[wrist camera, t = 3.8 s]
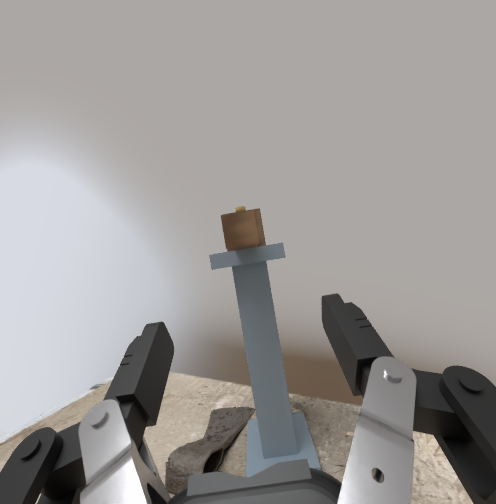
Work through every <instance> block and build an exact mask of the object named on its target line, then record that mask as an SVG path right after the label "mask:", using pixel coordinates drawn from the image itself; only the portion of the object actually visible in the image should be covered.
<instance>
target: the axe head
mask: <svg viewBox="0 0 496 504" xmlns="http://www.w3.org/2000/svg"><path fill="white" fill-rule="evenodd" d="M255 410H256V409H253V408H249V407H238V408H236V407H234V408H220V409H216V410H213V411H212V412H211V415H210V420H209V424H208V427H207V430H206V433H205V435H204V438H203V439H201V440H197V441H195V442H192V443H187V444H186V445H184V446H181V447H179V448H177V449H176V450H175V451H173V452H172V453H171V454H170V456H169V458H168V460H169V461H168V462H166V475H165V487H166V489H167V490H168V492H173V493H175V494H177V493H178V492H180V491H181V490H182V489H184V488H186V487H188V481H189V476H190V475H197V474H204V473H211V472H217V467H218V465H219V464H220V463H221V461H222V457H223V452H224V450H225V449H226V448H227V447H228V446H230V444H231V442H232V441H233V439H234V438H235V436H236V435H237V434H238V433H239V431H240V430H242V429H243V427H244V426H245V425H246V423H247V422H248V420H249V419H250V418H251V415H252V414H254V412H255Z"/></svg>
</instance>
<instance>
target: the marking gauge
mask: <svg viewBox="0 0 496 504" xmlns="http://www.w3.org/2000/svg"><path fill="white" fill-rule="evenodd" d="M235 209H236V212H235V213H229V214H224V215H222V216H221V219H222V226H223V232H224V238H225V244H226V249H227V250H228V252H230V251H236V250H242V249H248V248H254V247H260V246H266V244H265V237H264V231H263V225H262V219H261V213H260V209H254V210H248V211H246V210H245V207H237V208H235Z"/></svg>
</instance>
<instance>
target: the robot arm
mask: <svg viewBox="0 0 496 504" xmlns="http://www.w3.org/2000/svg"><path fill="white" fill-rule="evenodd" d="M322 322H323V327H324V330H325V332H326V335H327V337H328V339H329V341H330V343H331V346H332V348H333V350H334V352H335V355H336V357H337V359H338V361H339V364H340V366H341V368H342V370H343V373H344V375H345V377H346V379H347V382H348V384H349V386H350V389H351V391H352V393H353V395H354V396H358V395H362V396H363V398H364V400H363V404H362V408H361V412H360V414H359V417H358V420H357V424H356V429H355V433H354V437H353V441H352V445H351V449H350V453H349V457H348V462H347V466H346V470H345V474H344V478H343V482H342V483H341V482H340V481H338V480H337V479H335V478H334V477H333V476H331V475H329V474H327V473H325V472H323V471H321V470H318V469H314V468H310V467H309V464H308V459H300V460H293V461H286V462H279V463H276V464H274V465H272V466H271V467H269V468H267V469H265V470H263V471H261V472H259V473H257V474H255V475H253V476H251V477H242V476H237V475H232V474H228V473H223V472H211V473H204V474H197V475H190V476H189V481H188V487H186V488H184V489H182V490H181V491H180V492H178V493H177V494H176V495H175V496H173V497H172V498H171V497H170V495H169V493H168V491H167V490H166V488H165V486H164V484H163V482H162V480H161V478H160V476H159V473H158V471H157V468H156V466H155V463H154V461H153V458H152V456H151V453H150V450H149V448H148V445H147V443H146V440H145V438H144V436H143V435H144V431H145V428H146V427H148V426H154V425H156V422H157V418H158V414H159V410H160V406H161V402H162V398H163V394H164V390H165V386H166V382H167V379H168V375H169V370H170V367H171V363H172V359H173V355H174V345H173V341H172V339H171V337H170V335H169V333H168V330H167V328H166V326H165V324H164V323H163V322H157V323H151V324H147V325H146V326H145V328H144V330H143V332H142V335H141V336H137V337H136V338H135V339H134V340H133V342H132V343H131V344H130V345H129V347H128V348H127V351H126V353H125V355H124V358H123V359H122V361H121V364H120V367H119V368H118V370H117V372H116V374H115V376H114V379H113V381H112V383H111V385H110V387H109V389H108V392H107V394H106V396H105V398H104V400H103V401H102V402H100V403H98V404H96V405H95V406H94V407H92V408H91V409H90V410H89V411H88V412H87V414H86V415H85V416H84V418H83V419H82V421H81V422H79V423H77V424H75V425H73V426H71V427H69V428H66V429H64V430H62V431H60V432H58V433H57V432H56V431H54V430H53V429H52V428H50V427H45V428H41V429H39V430H37V431H35V432H33V433H32V434H30V435H29V436H28V437H26V438H25V439H24V440H23V441H22V442H21V443H20V444H19V445H18V446H17V448H16V449H15V450H14V452H13V453H12V454H11V456H10V458H9V459H8V461H7V463H6V464H5V466H4V467H3V469H2V471H1V472H0V504H35V503H36V501H37V499H38V497H39V495H40V493H41V497H40V499H39V501H38V503H37V504H411V493H412V478H413V463H414V440H413V438H412V434H413V431H417V432H422V433H426V434H431V435H434V437H435V439H436V440H437V442H438V444H439V445H440V447H441V449H442V451H443V452H444V454H445V456H446V457H447V459H448V461H449V462H450V464H451V466H452V468H453V469H454V471H455V473H456V474H457V476H458V478H459V480H460V481H461V483H462V485H463V486H464V488H465V490H466V492H467V493H468V495H469V497H470V498H471V500H472V502H473V503H474V504H496V387H495V386H494V385H493V384H492V383H491V382H490V381H489V380H488V379H487V378H486V377H485V376H483V375H482V374H480V373H478V372H476V371H475V370H472V369H470V368H466V367H463V366H450V367H447V368H446V369H445V370H444V372H443V374H439V373H432V372H425V371H419V370H415V369H411V368H410V367H409V366H408V365H407V364H405V363H404V362H402V361H400V360H399V359H396V358H395V357H393V355H392V354H391V352H390V351H389V349H388V348H387V346H386V345H385V343H384V342H383V341H382V339H381V338H380V336H379V335H378V333H377V332H376V330H375V329H374V328H373V327H372V325H371V323H370V322H369V320H367V317H366V316H365V314H364V313H363V312H362V310H361V309H360V308H358V307H357V306H356V305H354V304H353V303H352V302H350V303H344V302H343V300H342V299H341V297H340V295H339V294H331V295H325V296H322Z"/></svg>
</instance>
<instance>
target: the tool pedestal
mask: <svg viewBox="0 0 496 504" xmlns="http://www.w3.org/2000/svg"><path fill="white" fill-rule="evenodd" d="M279 258H285V252H284V247H283V243H278V244H273V245H266V246H260V247H254V248H248V249H242V250H236V251H230V252H224V253H218V254H213V255H210V262H211V268H212V270H213V269H219V268H224V267H231V266H232V270H233V276H234V282H235V288H236V294H237V300H238V306H239V312H240V318H241V324H242V331H243V337H244V342H245V348H246V355H247V361H248V367H249V373H250V378H251V385H252V391H253V397H254V403H255V409H256V415H257V419H252V420H248V429H247V462H246V477H251V476H253V475H255V474H257V473H259V472H261V471H263V470H265V469H267V468H269V467H271V466H272V465H274V464H276V463H279V462H286V461H293V460H300V459H308V464H309V467H310V468H314V469H318V470H321V466H320V463H319V460H318V457H317V454H316V450H315V447H314V444H313V441H312V438H311V435H310V432H309V429H308V425H307V422H306V419H305V416H304V413H303V412H298V413H291V407H290V401H289V395H288V390H287V383H286V377H285V371H284V365H283V359H282V354H281V347H280V341H279V335H278V329H277V323H276V318H275V311H274V305H273V300H272V294H271V288H270V282H269V276H268V270H267V264H266V261H267V260H273V259H279Z"/></svg>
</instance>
